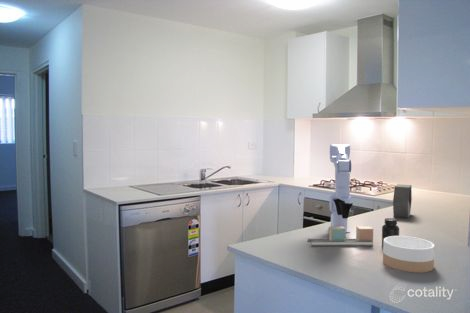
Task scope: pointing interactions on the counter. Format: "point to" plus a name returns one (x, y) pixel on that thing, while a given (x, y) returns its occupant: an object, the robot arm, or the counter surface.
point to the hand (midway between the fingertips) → (342, 216)
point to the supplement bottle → (389, 228)
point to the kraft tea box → (337, 233)
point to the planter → (402, 201)
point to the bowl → (408, 253)
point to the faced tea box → (364, 233)
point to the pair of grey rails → (339, 242)
